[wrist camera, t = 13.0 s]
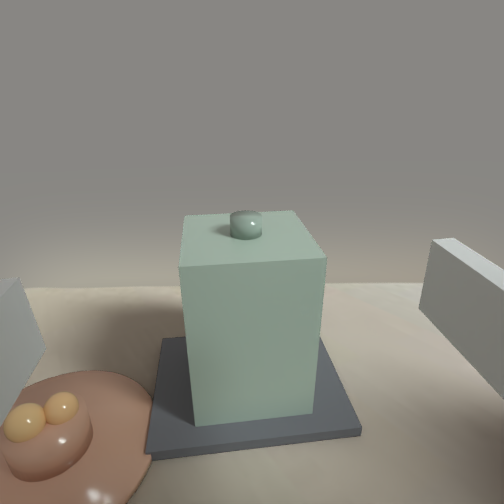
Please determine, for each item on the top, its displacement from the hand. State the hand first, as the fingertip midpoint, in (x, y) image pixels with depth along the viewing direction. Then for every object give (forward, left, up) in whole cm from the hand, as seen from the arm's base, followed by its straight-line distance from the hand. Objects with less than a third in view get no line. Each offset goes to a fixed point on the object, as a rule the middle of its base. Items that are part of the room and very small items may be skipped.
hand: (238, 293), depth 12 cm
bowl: (+12, -7, -15) cm, 20 cm away
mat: (-1, -11, -15) cm, 19 cm away
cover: (-1, -11, -14) cm, 18 cm away
